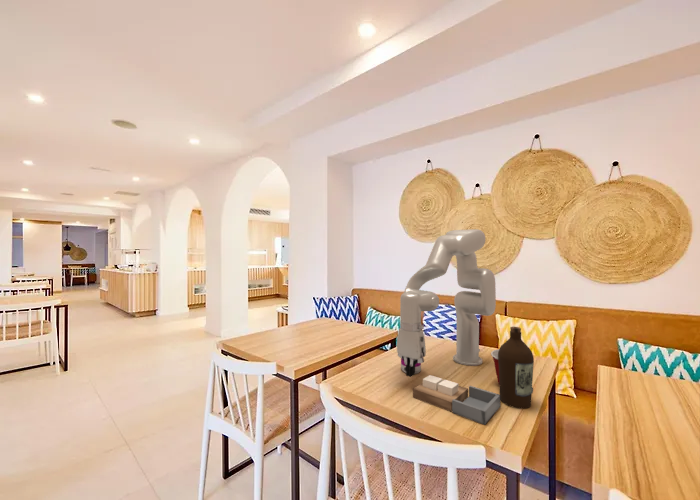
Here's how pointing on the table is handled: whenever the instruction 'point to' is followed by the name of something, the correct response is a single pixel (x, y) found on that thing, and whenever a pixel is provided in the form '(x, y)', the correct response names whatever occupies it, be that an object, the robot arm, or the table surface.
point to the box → (477, 405)
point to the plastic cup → (496, 362)
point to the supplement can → (417, 367)
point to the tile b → (448, 387)
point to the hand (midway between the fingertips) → (410, 375)
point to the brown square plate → (439, 396)
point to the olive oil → (515, 371)
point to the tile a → (432, 382)
